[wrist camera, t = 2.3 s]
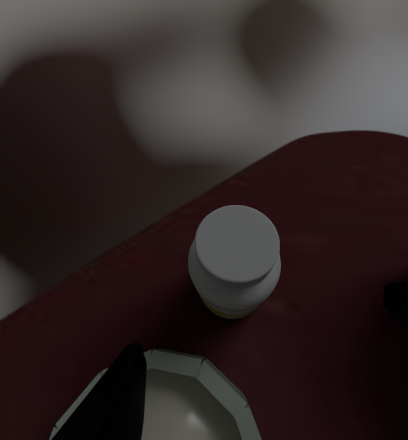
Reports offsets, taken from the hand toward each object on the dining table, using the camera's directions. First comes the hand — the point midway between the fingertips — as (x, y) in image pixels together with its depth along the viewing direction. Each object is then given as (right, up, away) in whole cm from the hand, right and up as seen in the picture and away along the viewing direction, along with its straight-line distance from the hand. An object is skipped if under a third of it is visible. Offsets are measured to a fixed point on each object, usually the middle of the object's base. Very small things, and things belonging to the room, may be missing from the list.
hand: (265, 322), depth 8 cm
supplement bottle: (0, -2, +11) cm, 11 cm away
